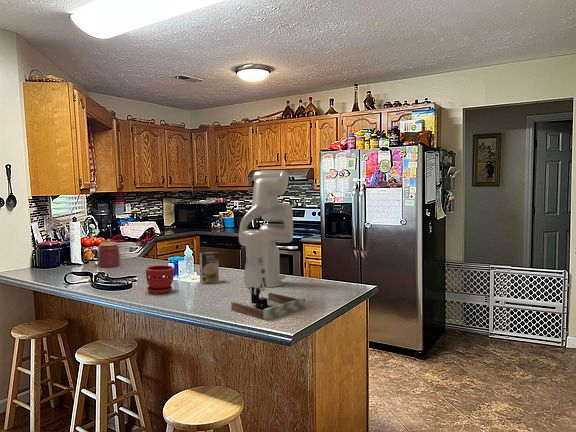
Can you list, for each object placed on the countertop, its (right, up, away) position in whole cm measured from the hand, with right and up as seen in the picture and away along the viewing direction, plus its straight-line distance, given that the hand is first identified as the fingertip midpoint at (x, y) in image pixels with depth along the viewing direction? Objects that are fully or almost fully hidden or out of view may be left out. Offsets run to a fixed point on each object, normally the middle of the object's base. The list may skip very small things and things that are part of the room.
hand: (255, 302), depth 186 cm
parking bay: (+5, -1, -5) cm, 7 cm away
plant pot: (-48, 0, +25) cm, 55 cm away
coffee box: (-28, +2, +44) cm, 53 cm away
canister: (-101, +5, +93) cm, 138 cm away
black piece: (+3, -2, -4) cm, 5 cm away
